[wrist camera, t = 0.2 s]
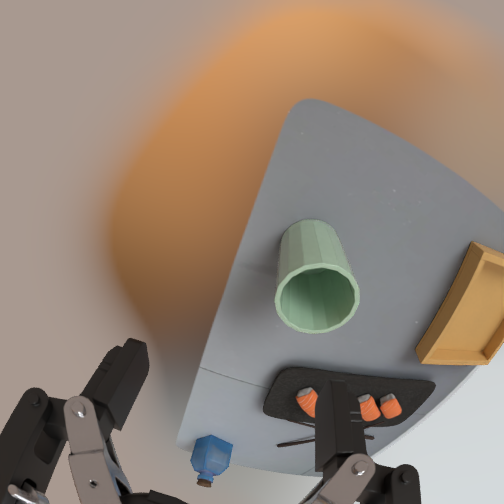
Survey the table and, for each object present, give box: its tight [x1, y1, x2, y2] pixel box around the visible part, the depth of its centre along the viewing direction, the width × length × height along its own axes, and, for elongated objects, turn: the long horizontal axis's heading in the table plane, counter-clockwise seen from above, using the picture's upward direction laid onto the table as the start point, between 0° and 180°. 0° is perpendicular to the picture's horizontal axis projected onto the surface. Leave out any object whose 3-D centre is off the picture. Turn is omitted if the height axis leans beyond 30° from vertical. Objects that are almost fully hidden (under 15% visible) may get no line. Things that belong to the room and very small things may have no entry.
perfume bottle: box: [190, 435, 233, 487], centre depth 47 cm, size 6×6×12 cm
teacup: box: [274, 219, 359, 334], centre depth 25 cm, size 7×7×10 cm
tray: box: [415, 241, 504, 365], centre depth 29 cm, size 18×17×3 cm
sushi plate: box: [263, 367, 436, 447], centre depth 42 cm, size 29×30×4 cm
